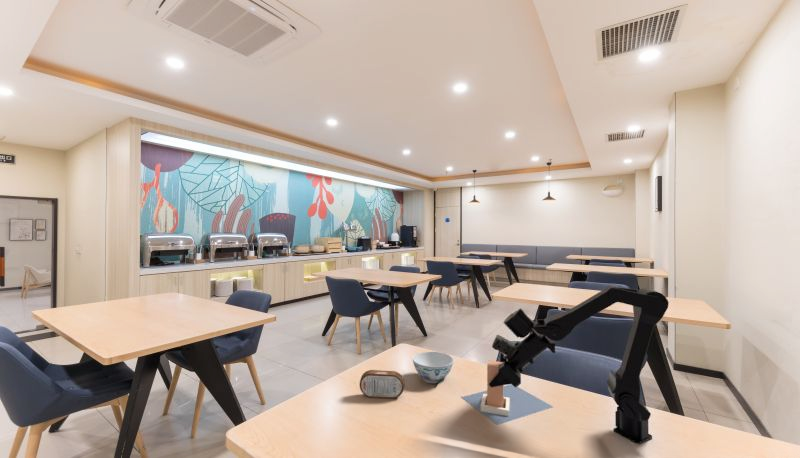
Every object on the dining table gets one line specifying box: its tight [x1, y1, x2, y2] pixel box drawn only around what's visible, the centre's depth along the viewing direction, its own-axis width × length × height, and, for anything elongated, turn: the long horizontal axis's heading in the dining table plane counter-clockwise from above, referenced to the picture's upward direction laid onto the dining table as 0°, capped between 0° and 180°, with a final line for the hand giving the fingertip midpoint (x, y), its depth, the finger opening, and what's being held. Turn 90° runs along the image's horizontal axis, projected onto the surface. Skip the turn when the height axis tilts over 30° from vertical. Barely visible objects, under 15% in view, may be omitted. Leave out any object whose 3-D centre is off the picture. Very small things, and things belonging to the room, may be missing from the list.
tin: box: [359, 369, 406, 400], centre depth 109 cm, size 15×3×8 cm, turn 84°
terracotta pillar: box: [486, 360, 505, 408], centre depth 100 cm, size 4×4×13 cm
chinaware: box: [412, 351, 454, 384], centre depth 122 cm, size 15×15×8 cm
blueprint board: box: [460, 384, 554, 426], centre depth 103 cm, size 17×22×1 cm
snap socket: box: [481, 394, 510, 416], centre depth 100 cm, size 8×8×2 cm
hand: (490, 381), depth 101 cm, fingers open, 6 cm apart
